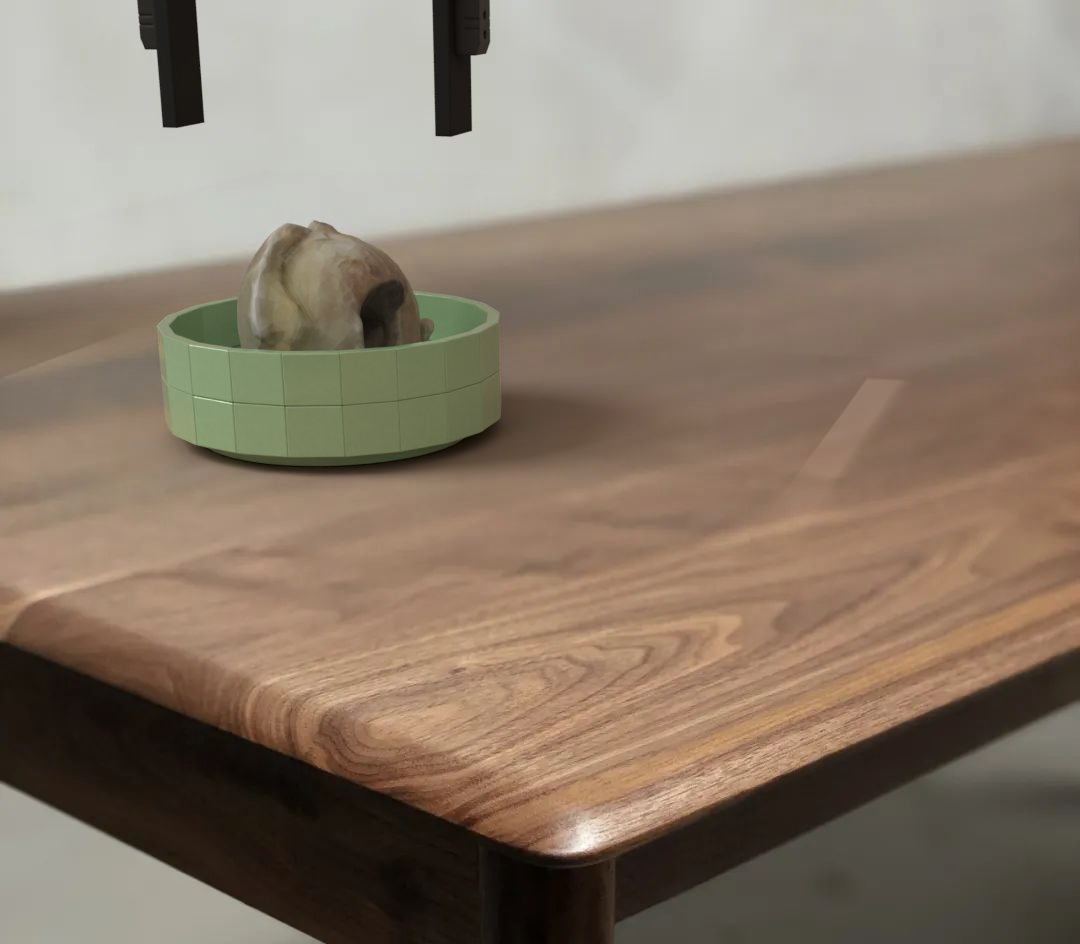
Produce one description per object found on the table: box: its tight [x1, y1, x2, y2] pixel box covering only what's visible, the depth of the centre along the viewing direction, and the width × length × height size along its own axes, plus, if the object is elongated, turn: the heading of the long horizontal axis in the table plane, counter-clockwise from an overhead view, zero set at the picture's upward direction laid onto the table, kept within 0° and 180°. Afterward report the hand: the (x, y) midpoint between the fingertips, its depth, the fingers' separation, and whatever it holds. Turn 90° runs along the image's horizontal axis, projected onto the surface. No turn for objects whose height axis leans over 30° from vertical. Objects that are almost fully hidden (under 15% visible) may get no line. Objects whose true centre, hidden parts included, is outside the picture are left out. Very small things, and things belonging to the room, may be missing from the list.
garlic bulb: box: [237, 219, 434, 351], centre depth 88 cm, size 9×8×10 cm
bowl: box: [156, 290, 503, 467], centre depth 89 cm, size 16×16×6 cm
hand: (315, 130), depth 85 cm, fingers open, 13 cm apart
